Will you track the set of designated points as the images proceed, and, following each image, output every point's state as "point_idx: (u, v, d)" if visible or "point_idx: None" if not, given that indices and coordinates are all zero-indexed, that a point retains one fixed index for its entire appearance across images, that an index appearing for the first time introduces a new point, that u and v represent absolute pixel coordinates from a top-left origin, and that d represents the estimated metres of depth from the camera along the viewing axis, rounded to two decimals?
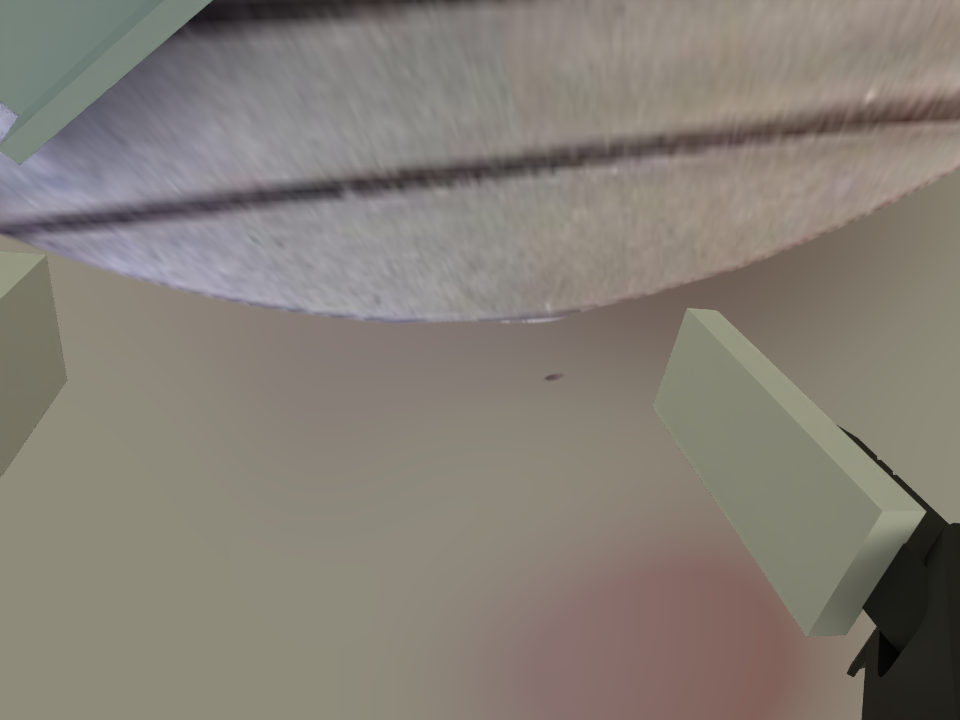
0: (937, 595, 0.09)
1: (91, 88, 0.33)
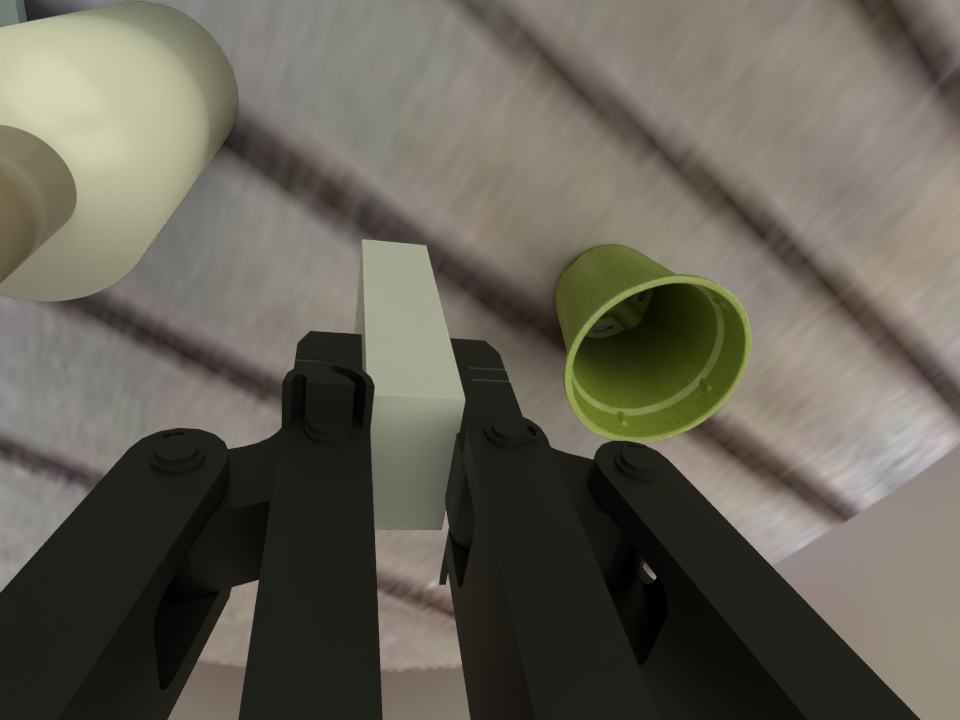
0: (477, 499, 0.09)
1: None
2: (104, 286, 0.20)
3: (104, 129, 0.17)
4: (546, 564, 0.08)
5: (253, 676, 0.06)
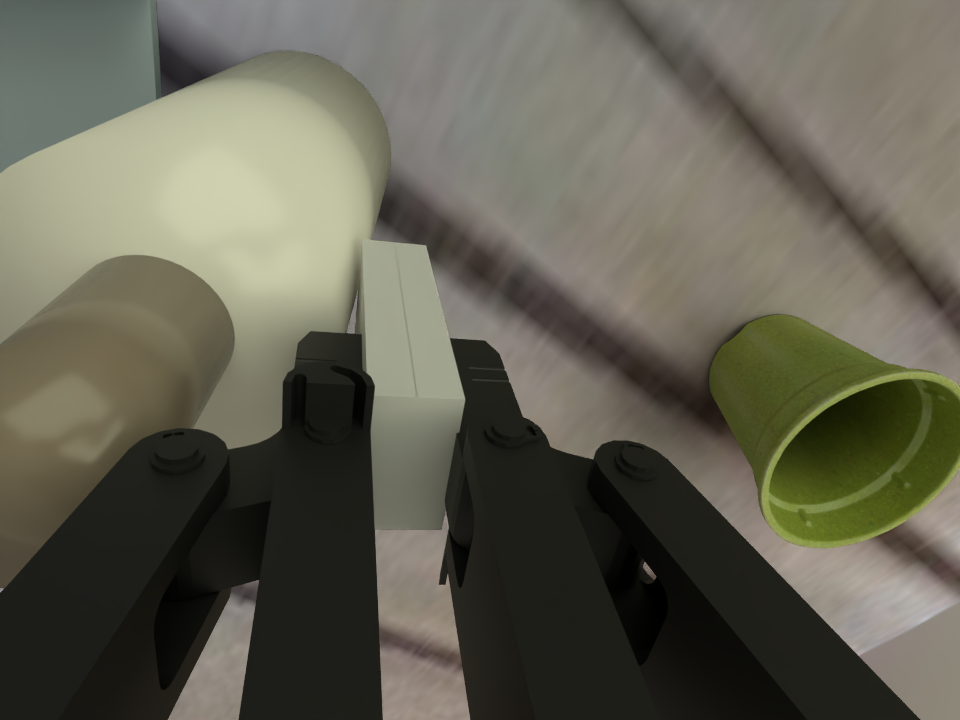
0: (477, 499, 0.09)
1: None
2: None
3: (283, 263, 0.12)
4: (546, 564, 0.08)
5: (253, 676, 0.06)
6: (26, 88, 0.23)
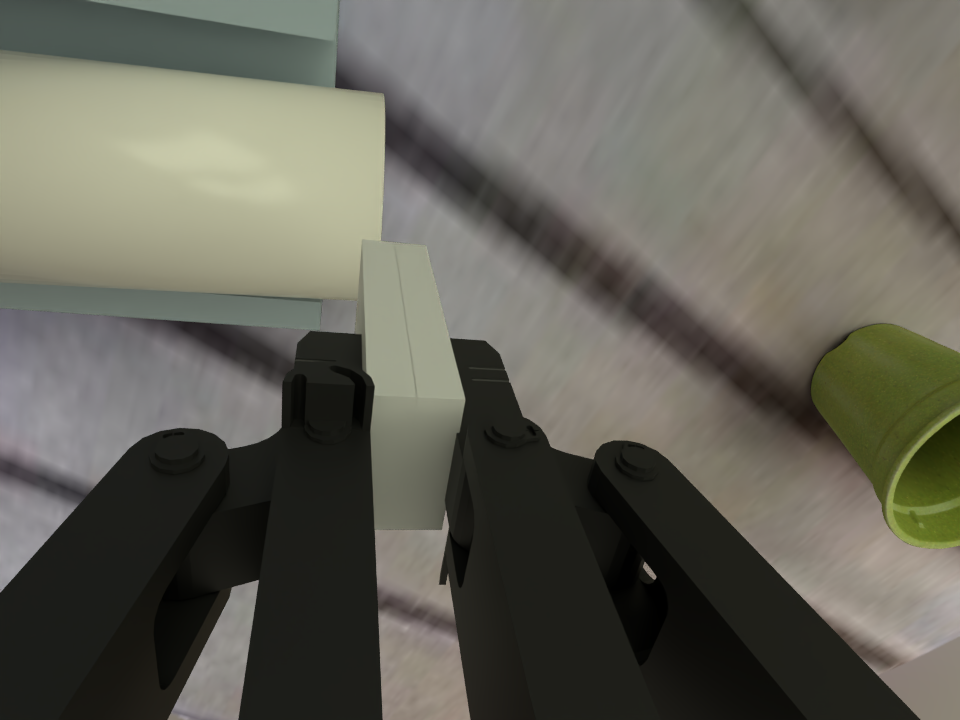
0: (477, 499, 0.09)
1: None
2: None
3: None
4: (546, 564, 0.08)
5: (253, 676, 0.06)
6: None
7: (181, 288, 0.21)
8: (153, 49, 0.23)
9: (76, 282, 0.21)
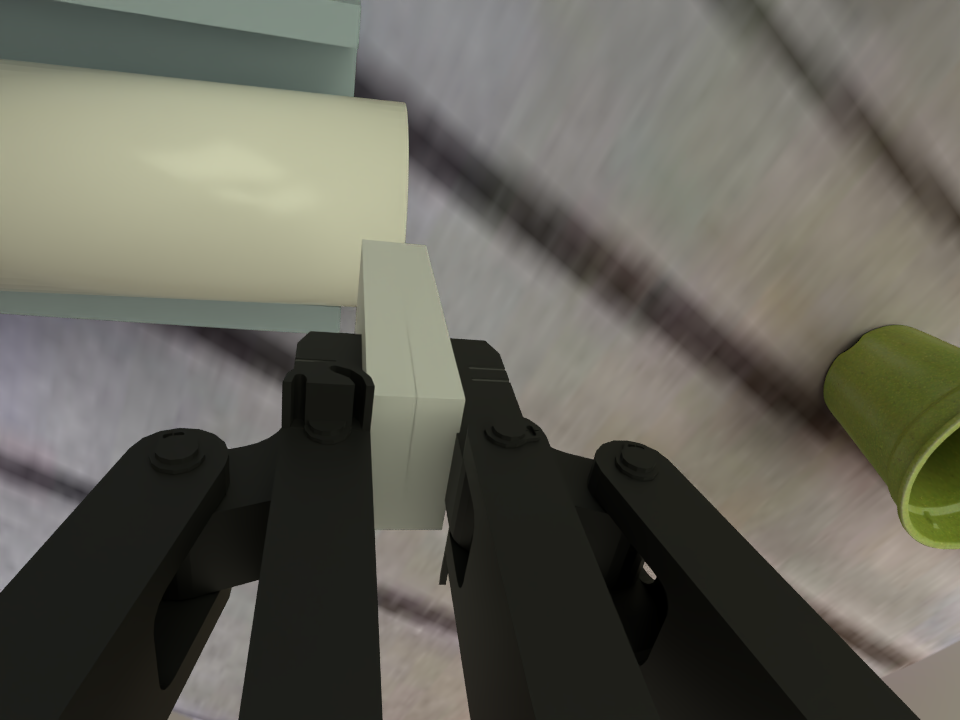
0: (477, 499, 0.09)
1: None
2: None
3: None
4: (546, 564, 0.08)
5: (253, 676, 0.06)
6: None
7: (206, 297, 0.22)
8: (175, 56, 0.23)
9: (103, 292, 0.21)
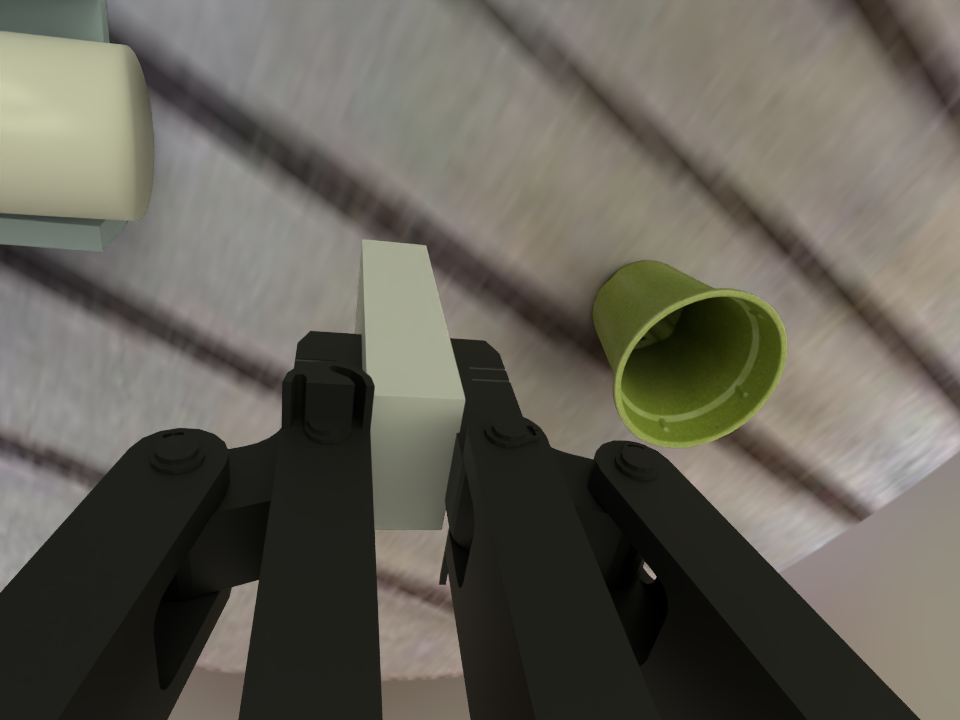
0: (477, 499, 0.09)
1: None
2: None
3: None
4: (546, 564, 0.08)
5: (253, 676, 0.06)
6: None
7: None
8: None
9: None
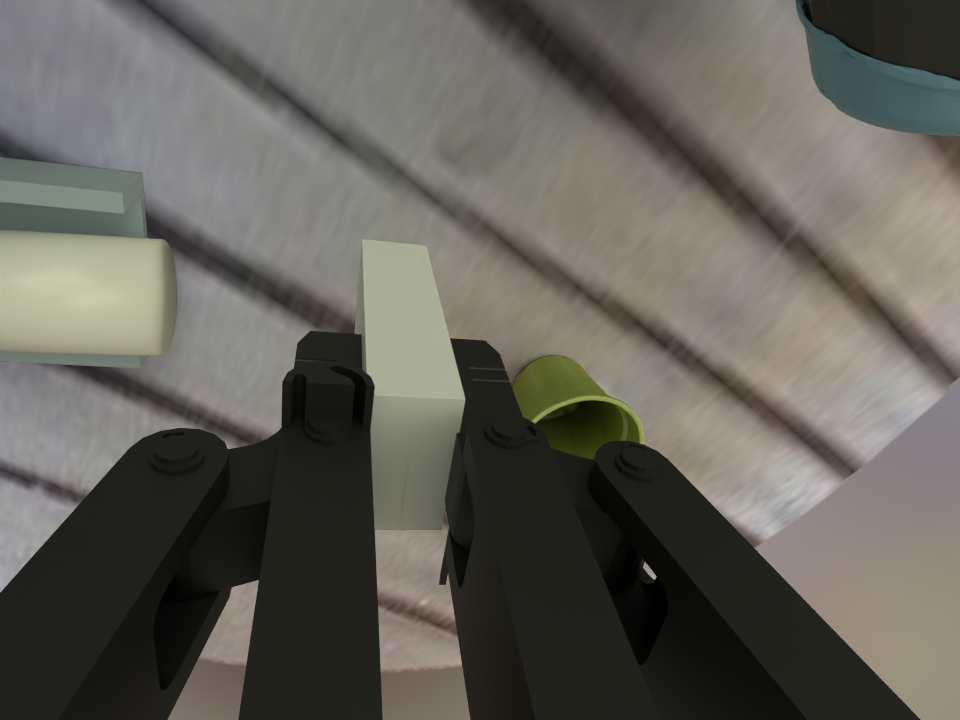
0: (477, 499, 0.09)
1: None
2: None
3: None
4: (546, 564, 0.08)
5: (253, 676, 0.06)
6: None
7: (45, 352, 0.38)
8: (31, 209, 0.40)
9: None
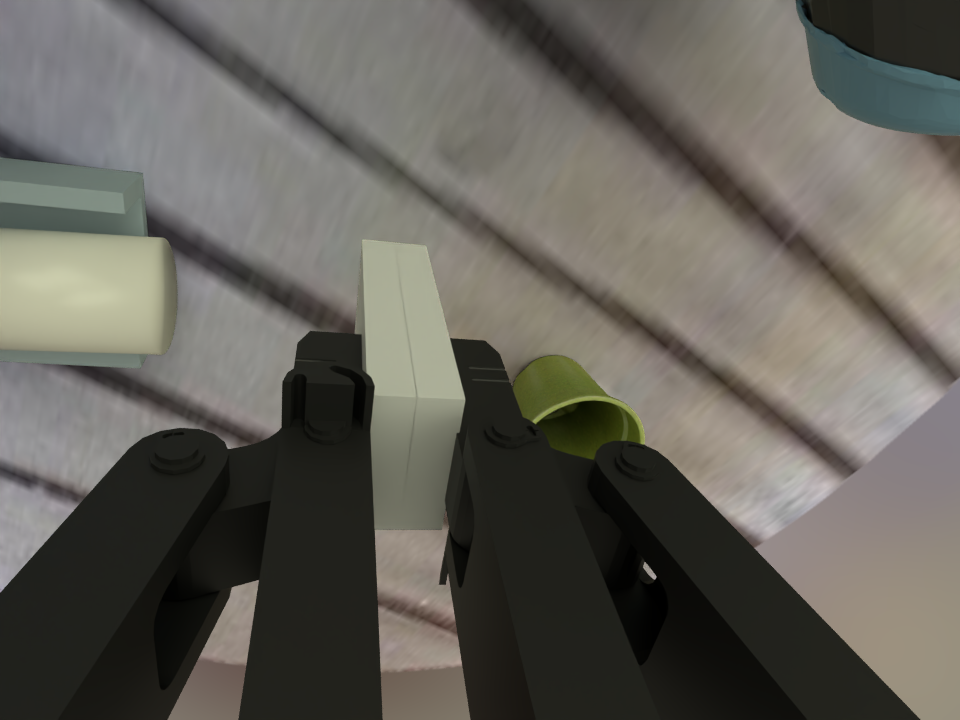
0: (477, 499, 0.09)
1: None
2: None
3: None
4: (546, 564, 0.08)
5: (253, 676, 0.06)
6: None
7: (44, 350, 0.38)
8: (31, 209, 0.40)
9: None
